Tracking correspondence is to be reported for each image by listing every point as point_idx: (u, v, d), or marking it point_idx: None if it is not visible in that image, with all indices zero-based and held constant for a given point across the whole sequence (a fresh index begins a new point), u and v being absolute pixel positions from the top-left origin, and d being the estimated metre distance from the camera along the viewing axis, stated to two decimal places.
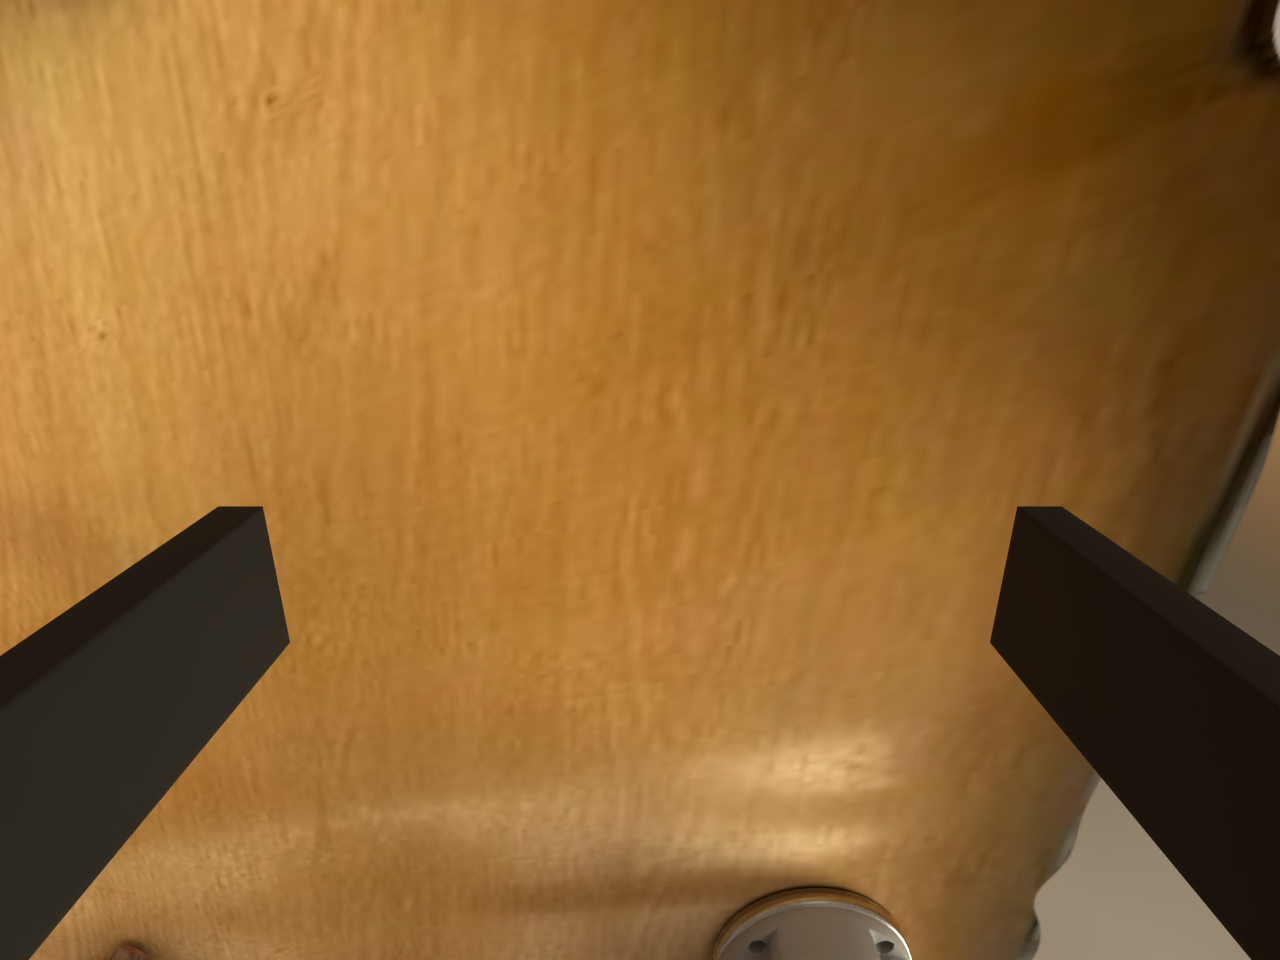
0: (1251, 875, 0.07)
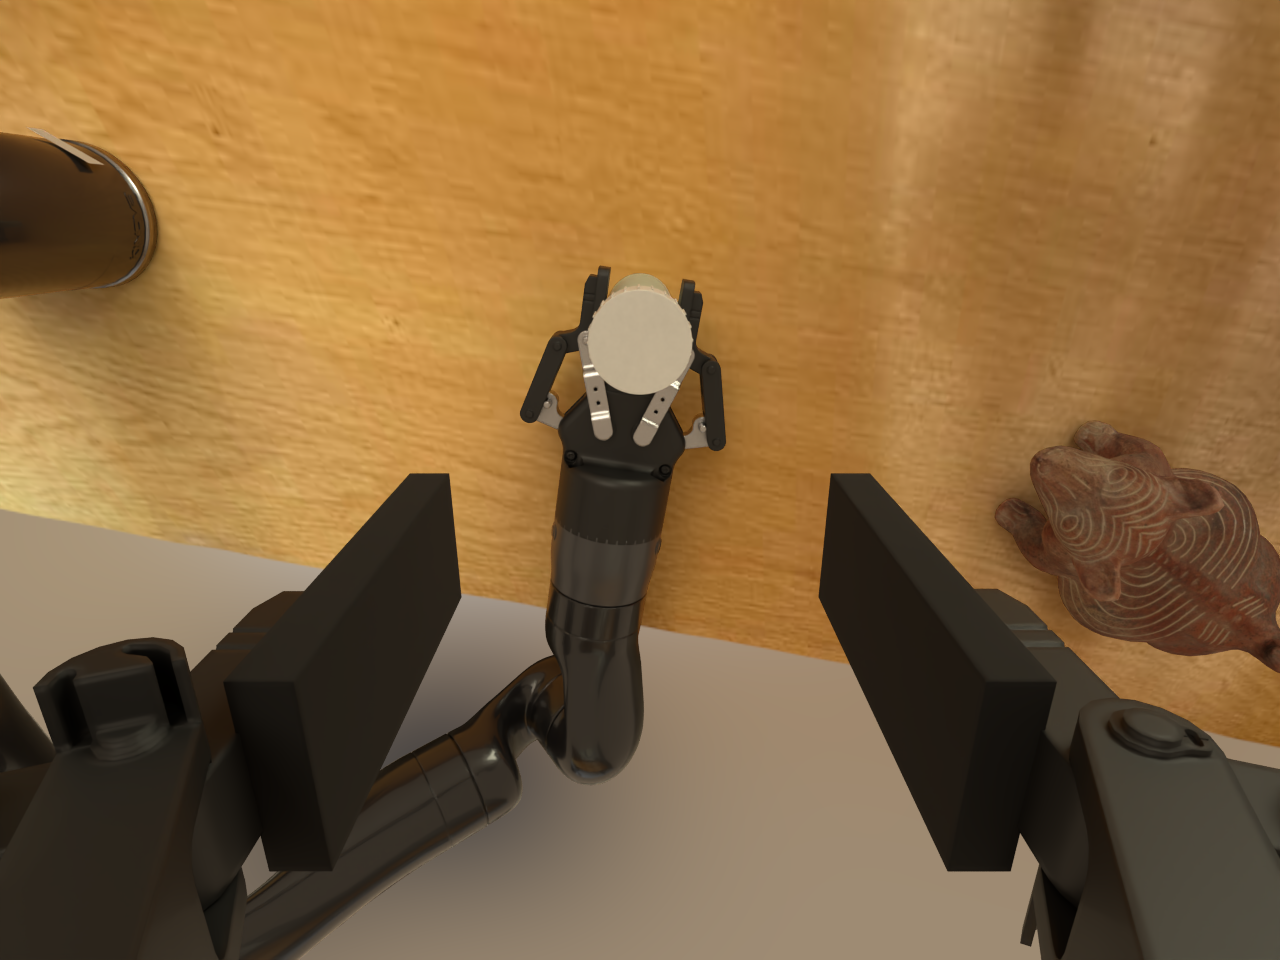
0: (928, 760, 0.09)
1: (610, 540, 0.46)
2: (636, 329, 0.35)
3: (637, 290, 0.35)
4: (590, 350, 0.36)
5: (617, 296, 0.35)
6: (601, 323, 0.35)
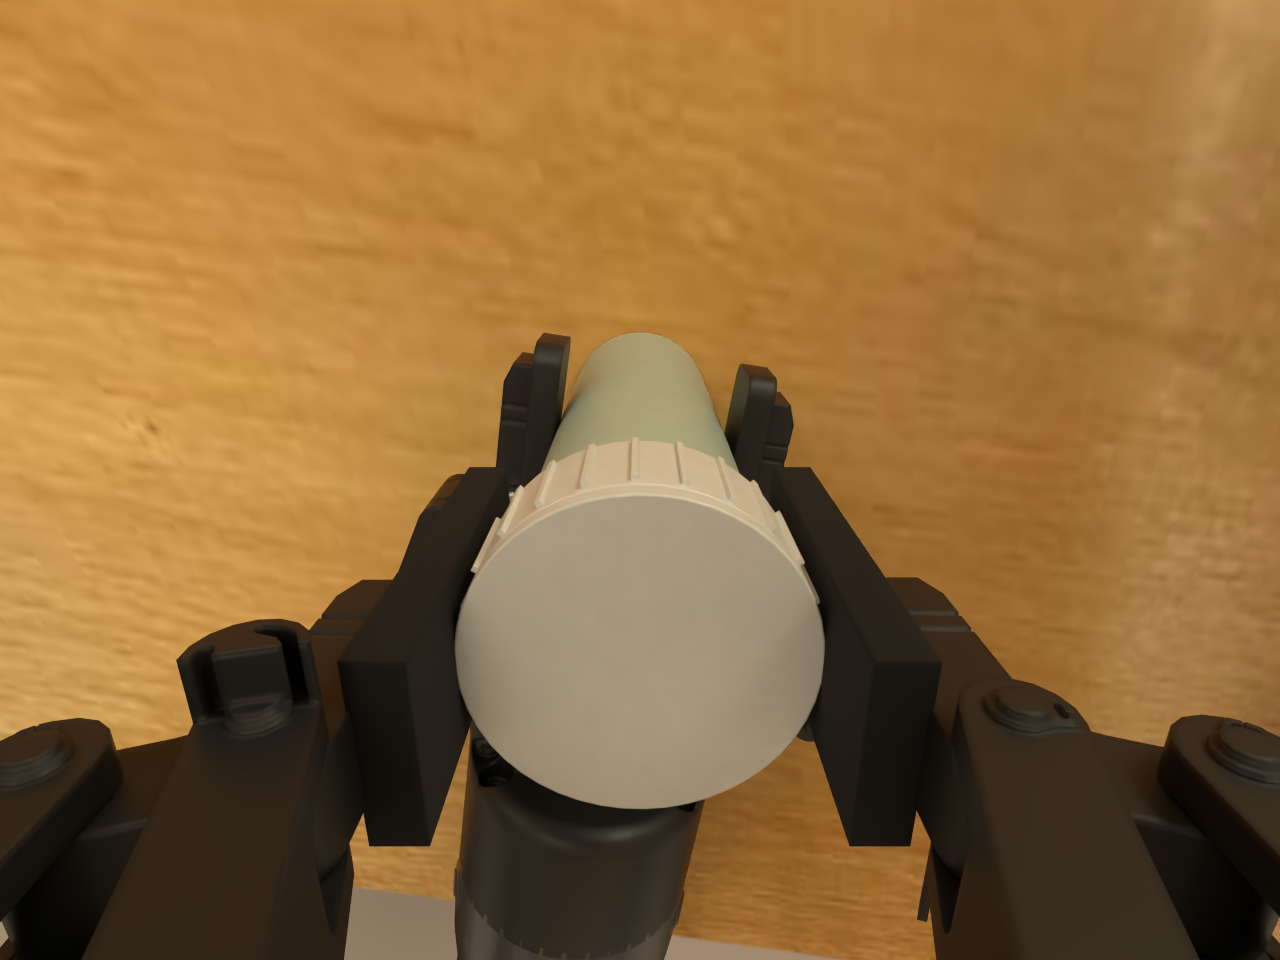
0: (837, 740, 0.09)
1: (572, 953, 0.20)
2: (626, 623, 0.10)
3: (630, 494, 0.09)
4: (465, 686, 0.10)
5: (554, 516, 0.09)
6: (499, 603, 0.10)
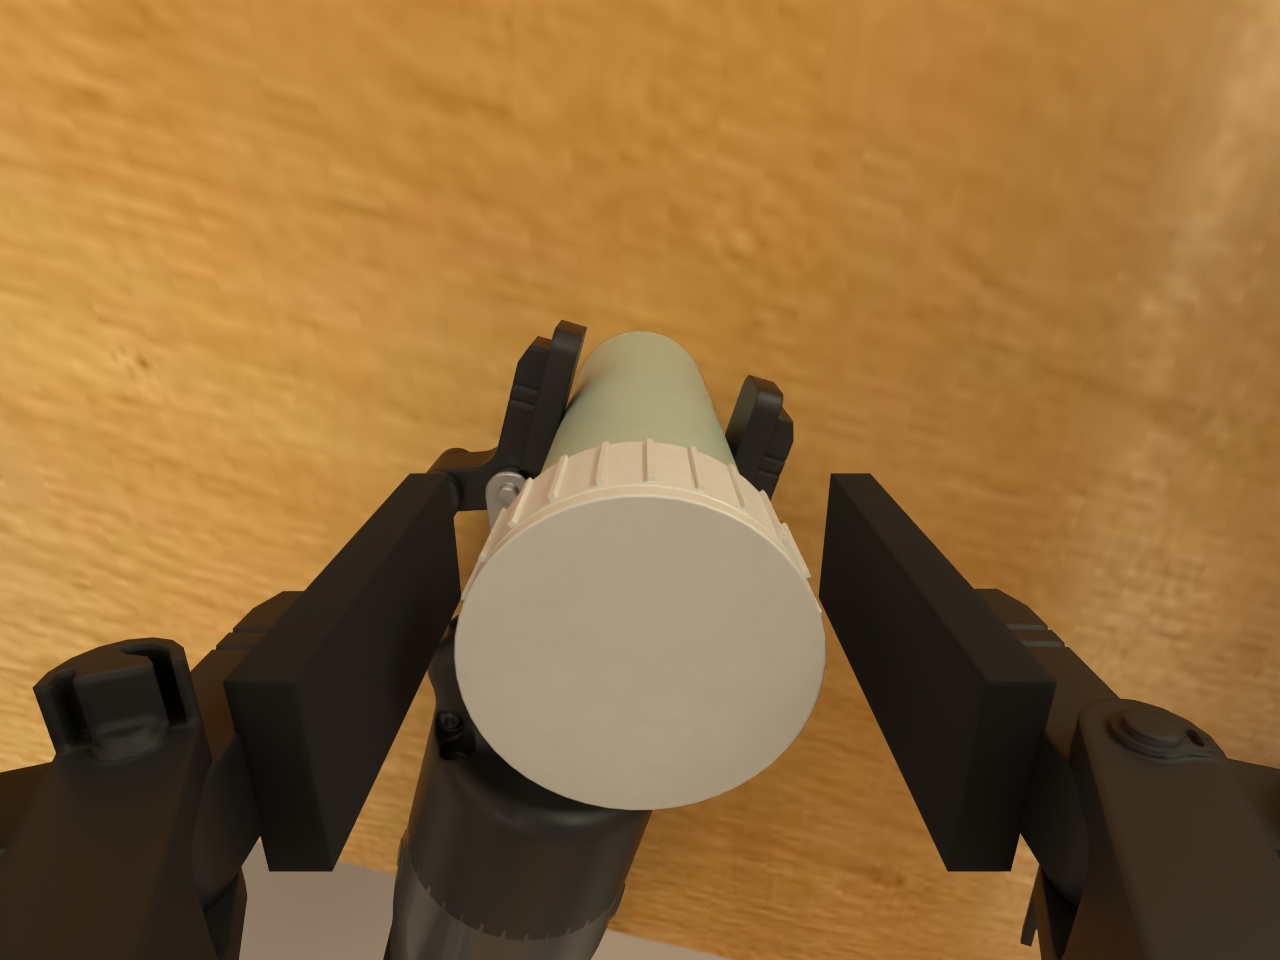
0: (928, 761, 0.09)
1: (512, 932, 0.20)
2: (593, 685, 0.10)
3: (465, 699, 0.10)
4: (691, 799, 0.11)
5: (500, 753, 0.11)
6: (597, 782, 0.11)
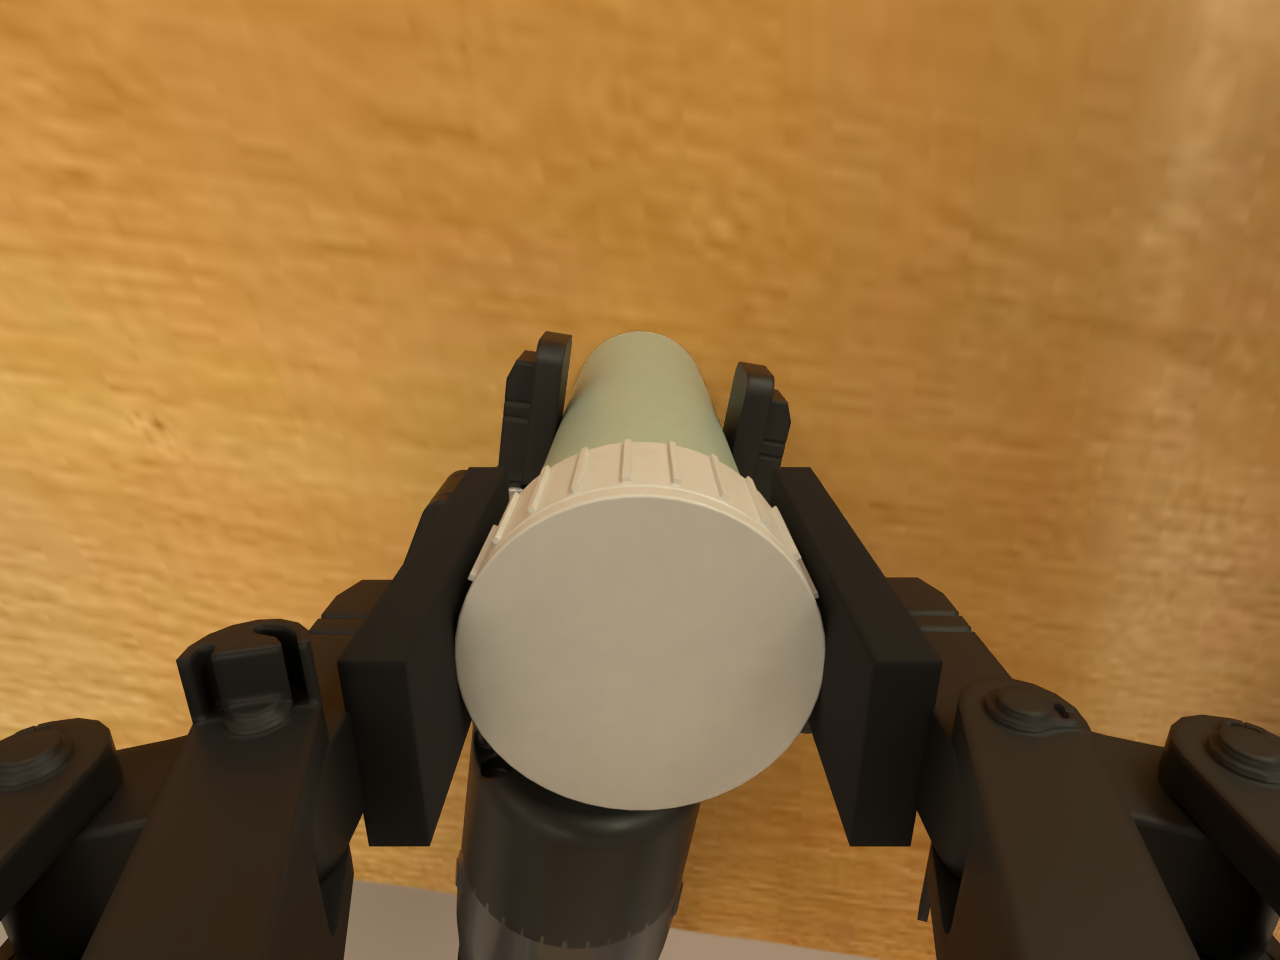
0: (838, 740, 0.09)
1: (572, 941, 0.20)
2: (596, 690, 0.10)
3: (474, 717, 0.10)
4: (711, 793, 0.11)
5: (515, 767, 0.11)
6: (615, 785, 0.11)
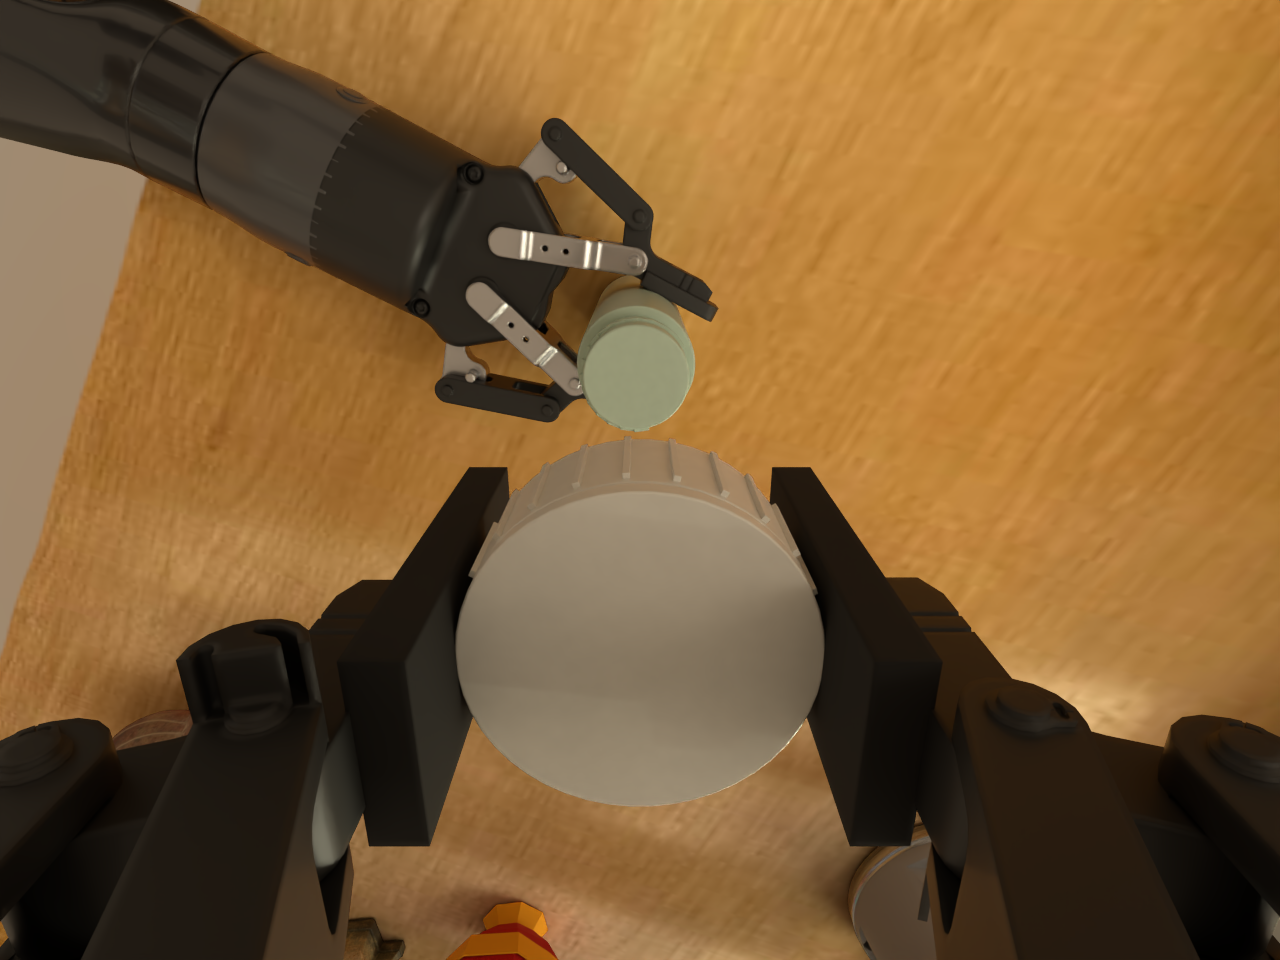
0: (837, 741, 0.09)
1: (324, 198, 0.28)
2: (596, 686, 0.10)
3: (474, 714, 0.10)
4: (710, 789, 0.11)
5: (515, 763, 0.11)
6: (615, 781, 0.11)
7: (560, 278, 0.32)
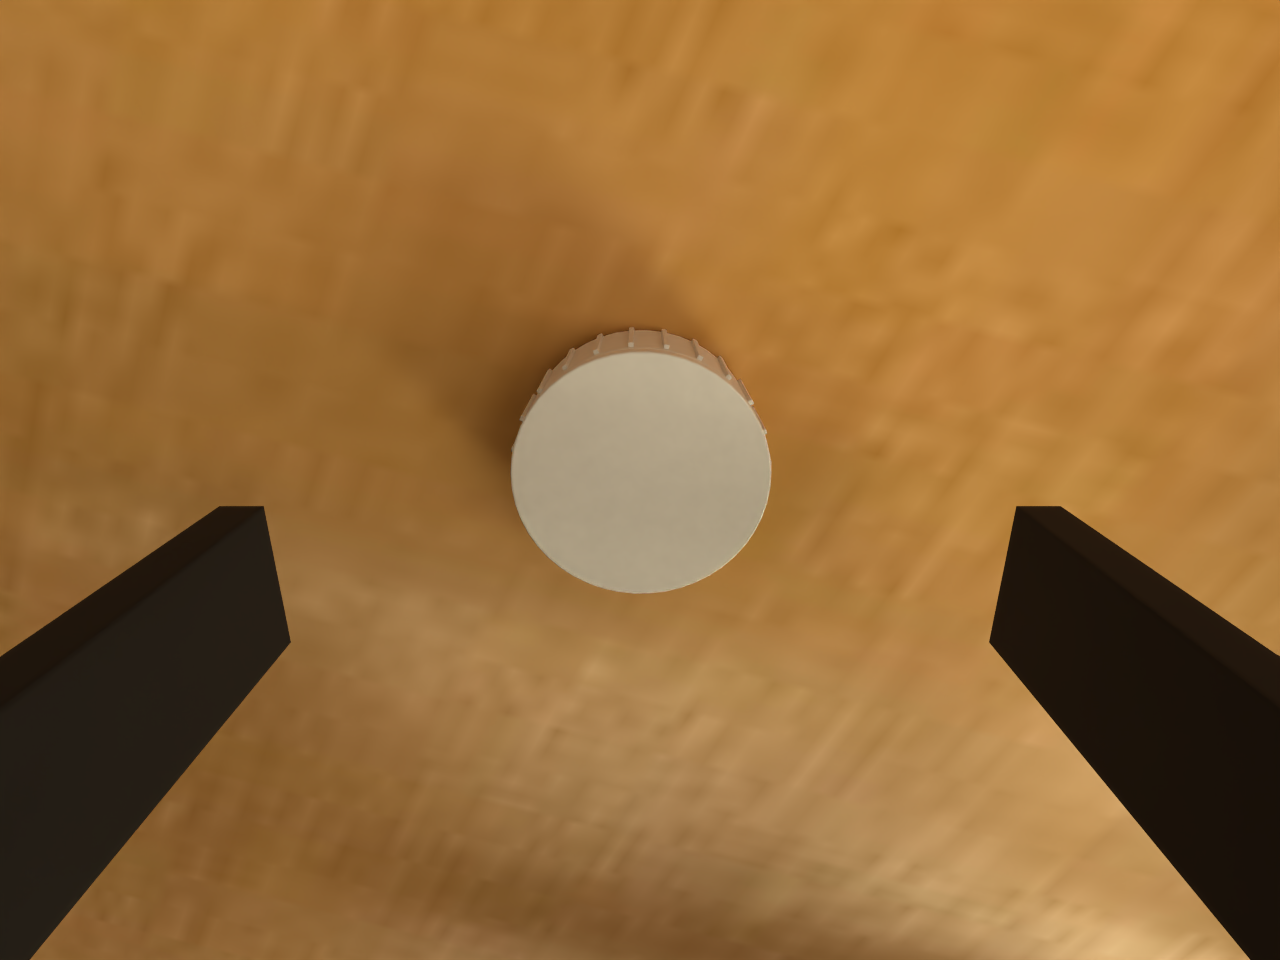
0: (1250, 873, 0.07)
1: None
2: (610, 498, 0.14)
3: (523, 521, 0.15)
4: (691, 579, 0.15)
5: (552, 559, 0.15)
6: (623, 573, 0.15)
7: None
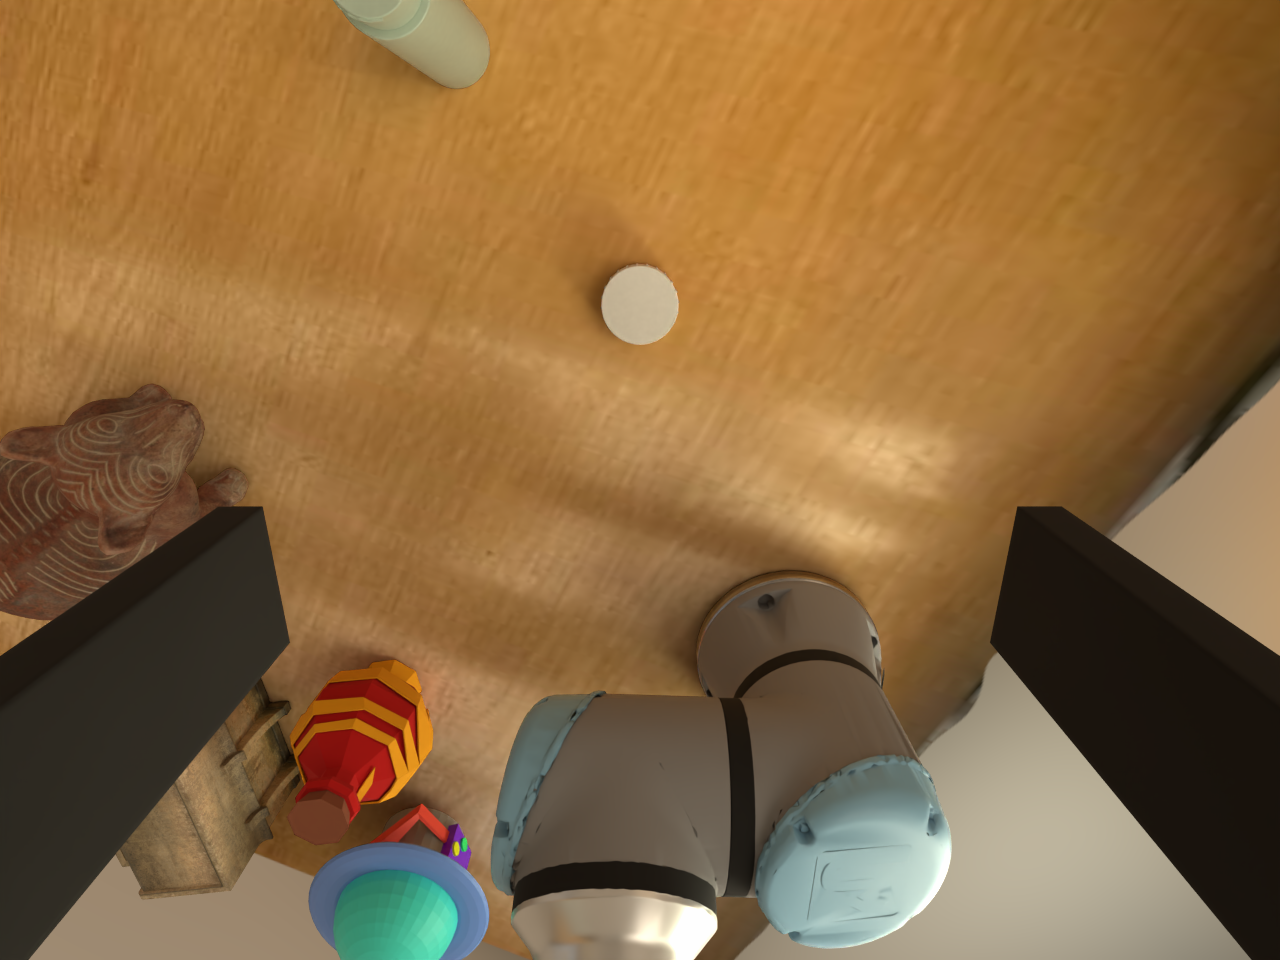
0: (1251, 875, 0.07)
1: None
2: (630, 311, 0.48)
3: (604, 319, 0.49)
4: (655, 339, 0.49)
5: (612, 332, 0.49)
6: (634, 337, 0.49)
7: None
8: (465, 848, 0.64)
